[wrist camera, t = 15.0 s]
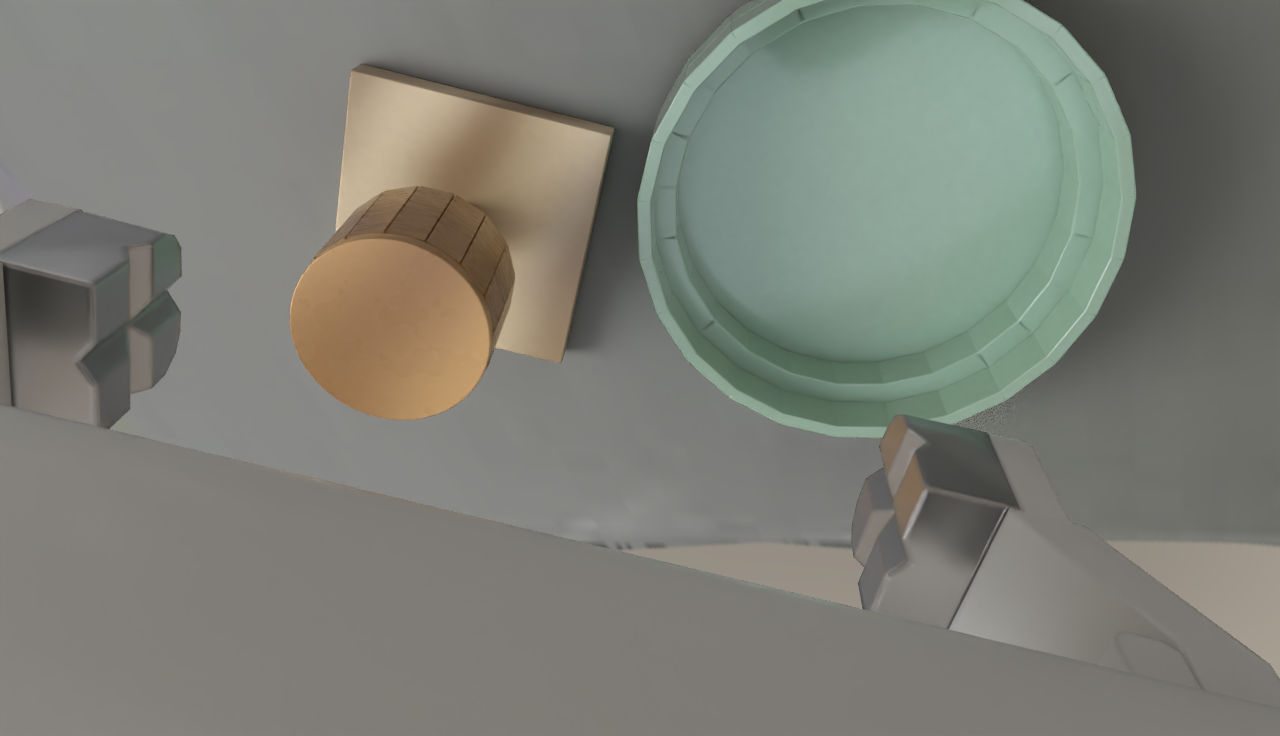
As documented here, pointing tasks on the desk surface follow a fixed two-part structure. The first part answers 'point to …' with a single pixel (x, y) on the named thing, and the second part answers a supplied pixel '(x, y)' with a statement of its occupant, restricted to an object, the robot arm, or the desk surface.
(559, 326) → the ball stand
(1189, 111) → the desk surface
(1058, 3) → the desk surface
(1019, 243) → the bowl
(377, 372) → the wood cap
